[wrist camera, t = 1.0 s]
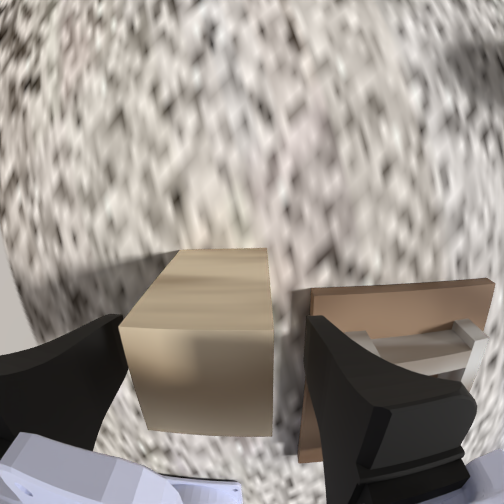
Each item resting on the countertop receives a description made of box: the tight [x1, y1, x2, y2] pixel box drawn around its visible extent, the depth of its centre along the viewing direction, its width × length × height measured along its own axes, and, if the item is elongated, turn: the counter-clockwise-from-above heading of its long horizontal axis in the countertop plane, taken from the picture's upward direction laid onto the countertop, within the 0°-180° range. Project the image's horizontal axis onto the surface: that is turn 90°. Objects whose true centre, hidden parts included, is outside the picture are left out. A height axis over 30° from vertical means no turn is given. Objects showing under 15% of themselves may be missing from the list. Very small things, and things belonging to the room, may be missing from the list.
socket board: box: [297, 278, 495, 463], centre depth 17 cm, size 14×12×4 cm
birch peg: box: [118, 248, 274, 437], centre depth 13 cm, size 4×4×8 cm
